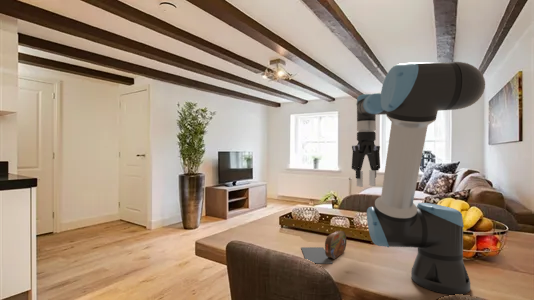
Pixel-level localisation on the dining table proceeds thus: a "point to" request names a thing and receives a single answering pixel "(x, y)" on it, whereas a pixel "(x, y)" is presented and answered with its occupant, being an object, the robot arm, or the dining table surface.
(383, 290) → the dining table surface
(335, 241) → the tin
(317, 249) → the mat
